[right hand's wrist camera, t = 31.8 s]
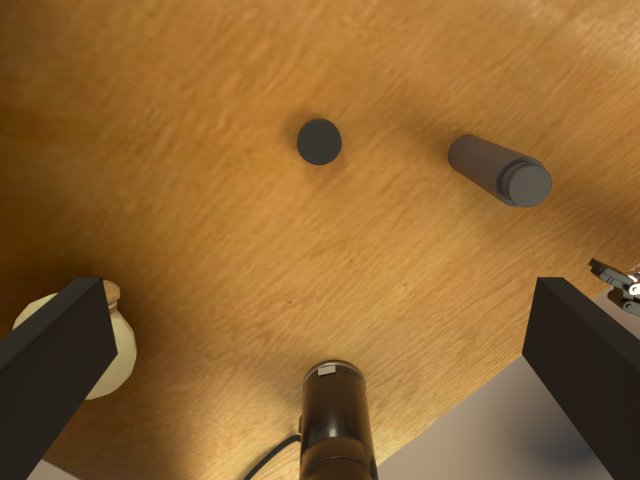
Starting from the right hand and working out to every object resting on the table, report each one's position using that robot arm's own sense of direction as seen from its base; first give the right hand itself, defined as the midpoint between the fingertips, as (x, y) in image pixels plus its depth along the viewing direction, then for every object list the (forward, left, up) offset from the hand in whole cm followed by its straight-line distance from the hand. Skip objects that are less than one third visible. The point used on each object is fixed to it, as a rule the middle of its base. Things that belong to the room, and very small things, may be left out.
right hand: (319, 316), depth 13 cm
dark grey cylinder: (-9, +16, -41) cm, 45 cm away
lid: (0, 0, -39) cm, 39 cm away
